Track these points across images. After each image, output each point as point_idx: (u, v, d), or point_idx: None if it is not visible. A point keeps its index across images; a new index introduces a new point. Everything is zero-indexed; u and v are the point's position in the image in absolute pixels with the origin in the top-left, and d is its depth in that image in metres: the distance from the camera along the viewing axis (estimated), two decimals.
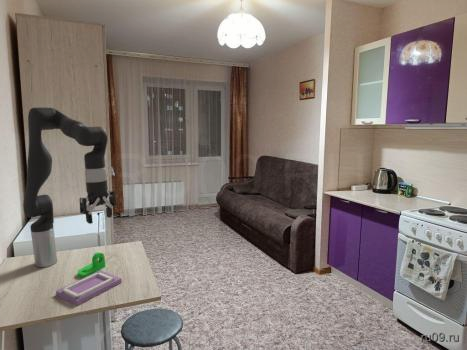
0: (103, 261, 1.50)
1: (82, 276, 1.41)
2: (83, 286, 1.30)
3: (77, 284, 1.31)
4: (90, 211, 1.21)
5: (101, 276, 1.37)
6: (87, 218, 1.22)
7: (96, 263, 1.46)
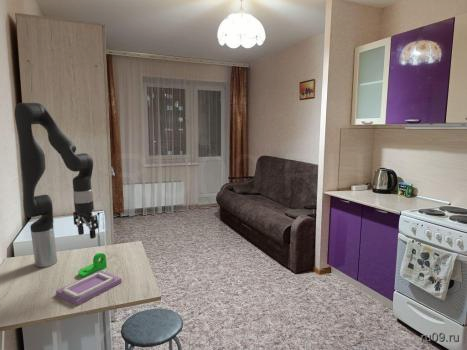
0: (104, 262, 1.49)
1: (82, 276, 1.40)
2: (83, 286, 1.30)
3: (77, 284, 1.31)
4: None
5: (101, 276, 1.37)
6: (94, 233, 1.39)
7: (97, 263, 1.46)
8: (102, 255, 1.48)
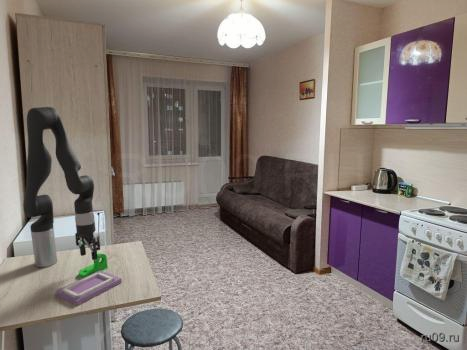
0: (105, 262, 1.49)
1: (82, 276, 1.40)
2: (83, 286, 1.30)
3: (77, 284, 1.31)
4: None
5: (101, 276, 1.37)
6: (96, 254, 1.40)
7: (98, 264, 1.45)
8: (103, 255, 1.47)
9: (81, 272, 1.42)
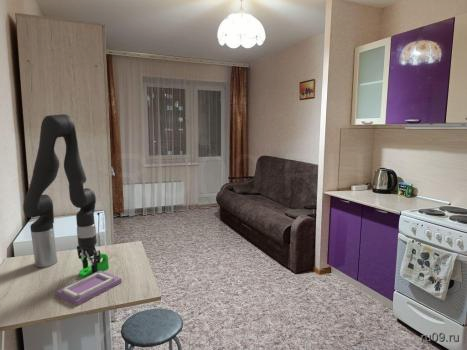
0: (106, 262, 1.48)
1: (82, 276, 1.40)
2: (83, 286, 1.30)
3: (77, 284, 1.31)
4: None
5: (101, 276, 1.37)
6: (96, 267, 1.42)
7: (98, 264, 1.45)
8: (104, 256, 1.47)
9: (82, 272, 1.42)
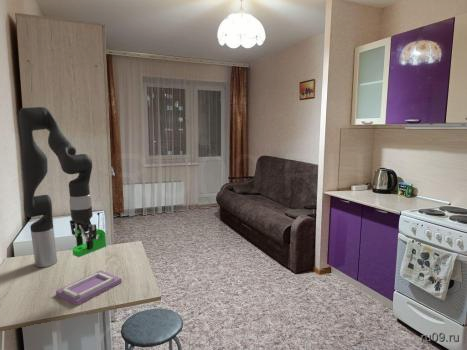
0: (103, 239, 1.31)
1: (76, 254, 1.23)
2: (83, 286, 1.30)
3: (77, 284, 1.31)
4: None
5: (101, 276, 1.37)
6: (91, 244, 1.25)
7: (94, 241, 1.28)
8: (100, 231, 1.30)
9: (75, 249, 1.25)
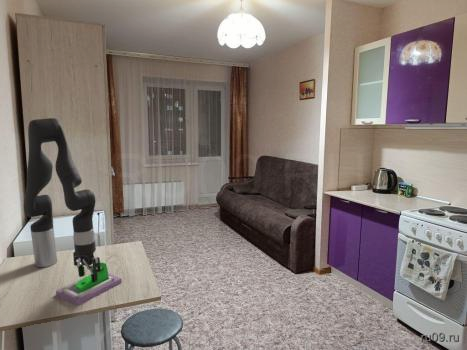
0: (105, 271, 1.33)
1: (80, 290, 1.26)
2: None
3: None
4: None
5: None
6: (96, 276, 1.27)
7: (97, 274, 1.30)
8: (102, 264, 1.31)
9: (79, 284, 1.27)
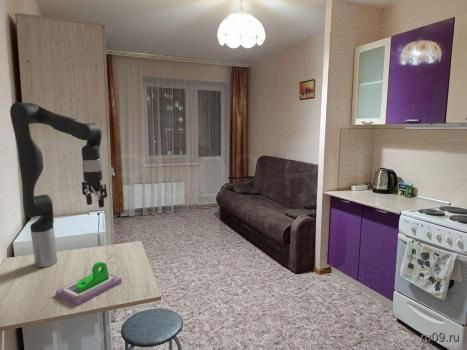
0: (105, 271, 1.33)
1: (80, 290, 1.26)
2: None
3: None
4: None
5: None
6: (102, 202, 1.40)
7: (97, 274, 1.30)
8: (102, 264, 1.31)
9: (79, 285, 1.27)
